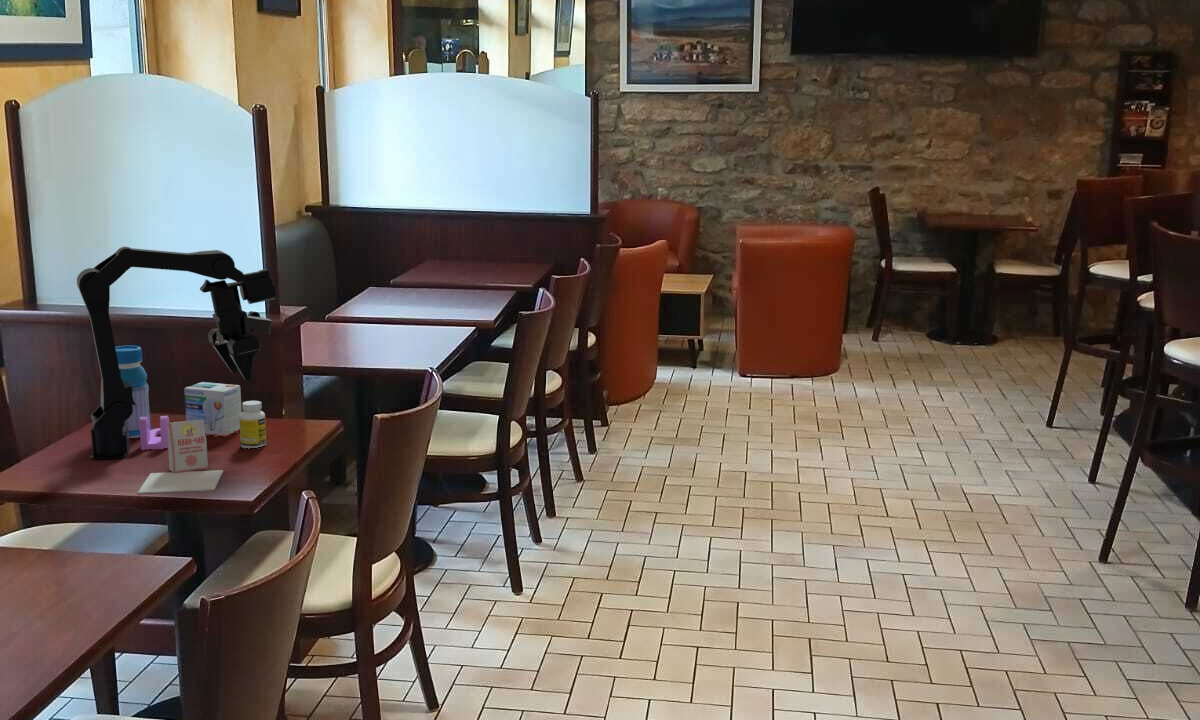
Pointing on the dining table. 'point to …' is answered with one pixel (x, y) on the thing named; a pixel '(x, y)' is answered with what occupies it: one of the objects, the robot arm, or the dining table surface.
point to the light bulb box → (214, 406)
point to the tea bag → (187, 446)
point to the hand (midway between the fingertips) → (241, 376)
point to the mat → (181, 481)
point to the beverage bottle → (134, 386)
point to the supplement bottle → (252, 425)
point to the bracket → (154, 434)
